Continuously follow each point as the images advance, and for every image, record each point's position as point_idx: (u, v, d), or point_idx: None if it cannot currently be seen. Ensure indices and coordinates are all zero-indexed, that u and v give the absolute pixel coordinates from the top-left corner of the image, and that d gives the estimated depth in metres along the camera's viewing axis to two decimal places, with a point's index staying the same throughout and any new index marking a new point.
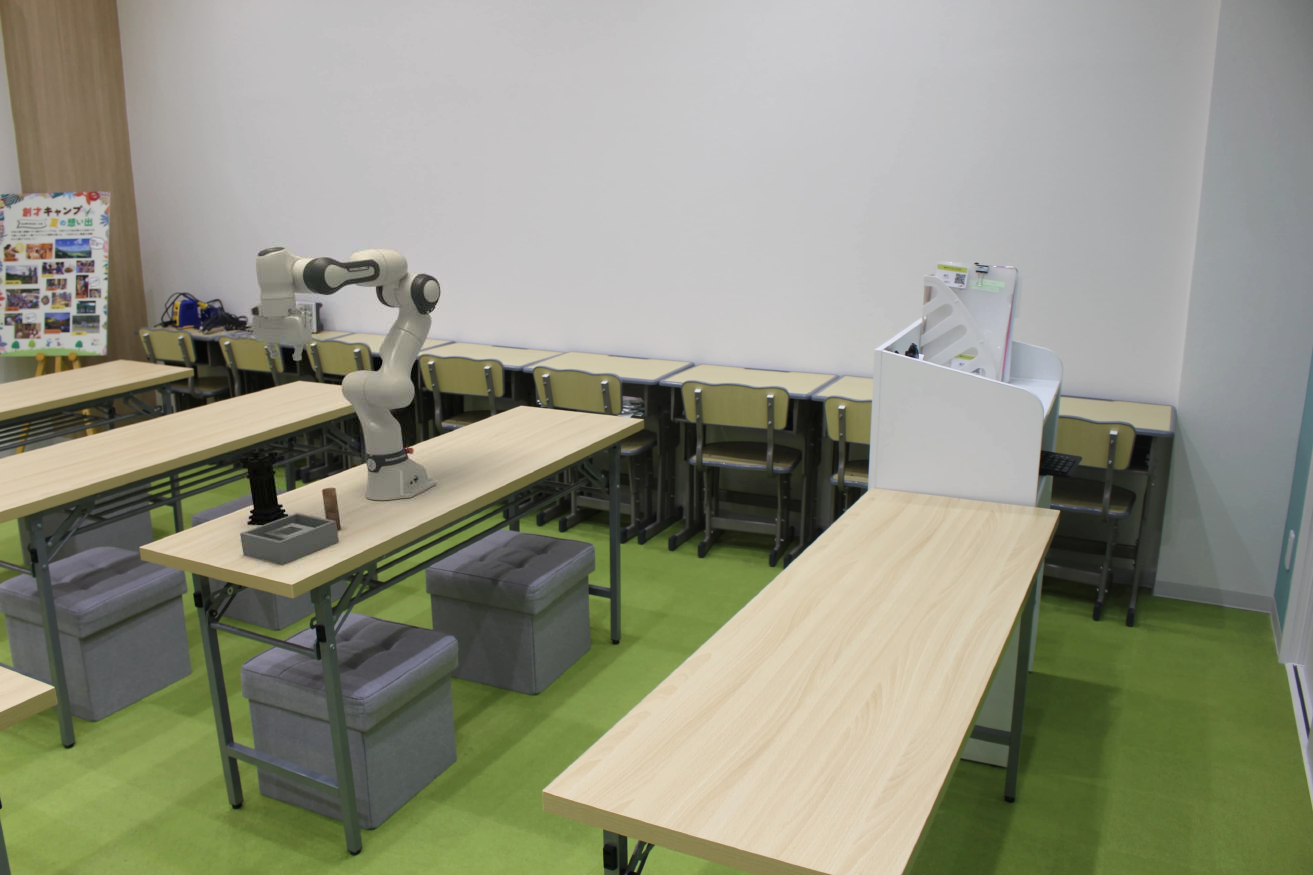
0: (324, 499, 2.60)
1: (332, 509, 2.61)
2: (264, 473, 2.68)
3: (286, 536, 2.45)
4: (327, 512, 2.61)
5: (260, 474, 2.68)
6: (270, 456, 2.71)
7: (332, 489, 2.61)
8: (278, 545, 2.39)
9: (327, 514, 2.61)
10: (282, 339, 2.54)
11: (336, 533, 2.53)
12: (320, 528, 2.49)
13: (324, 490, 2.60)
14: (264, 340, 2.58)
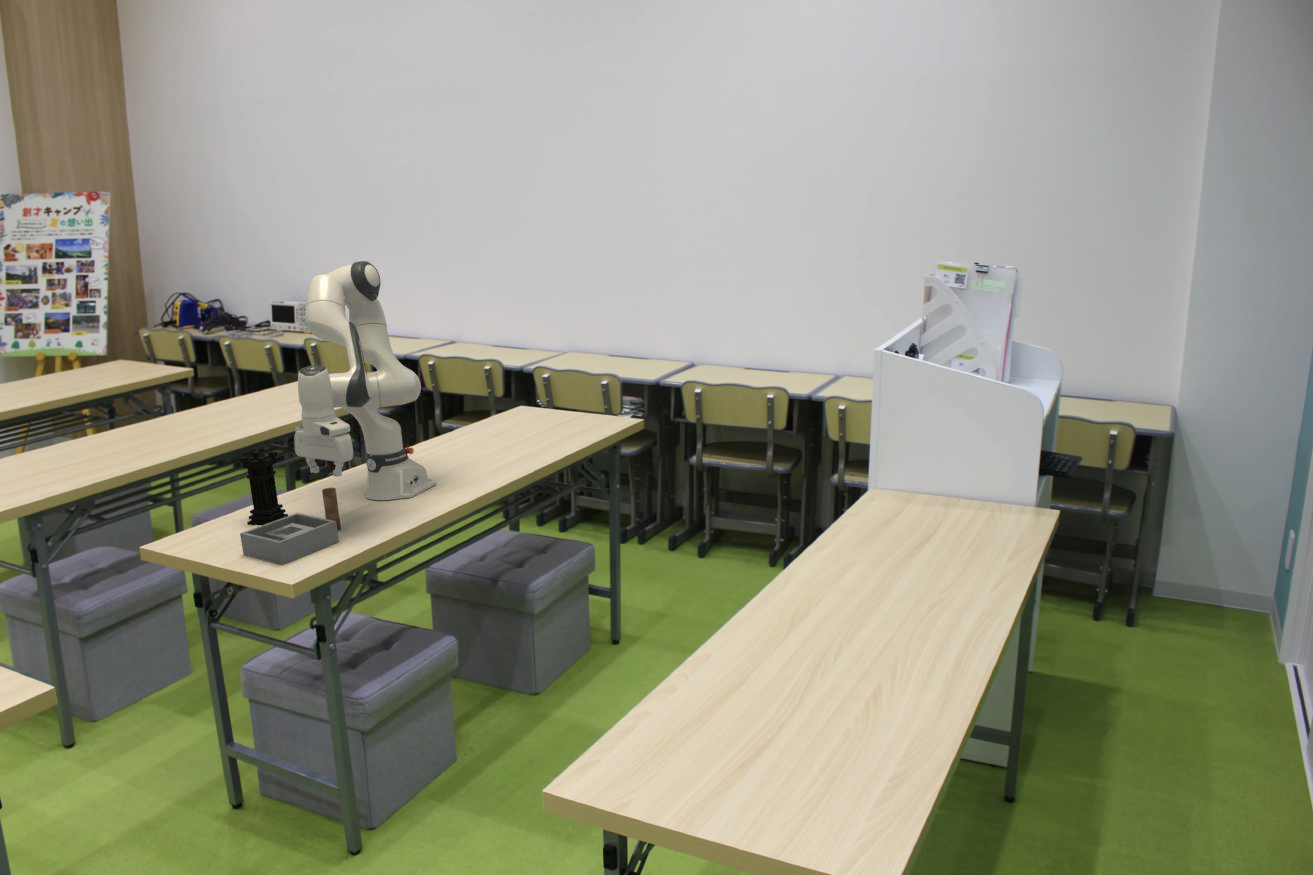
0: (324, 499, 2.60)
1: (332, 509, 2.61)
2: (264, 473, 2.68)
3: (286, 536, 2.45)
4: (327, 512, 2.61)
5: (260, 474, 2.68)
6: (270, 456, 2.71)
7: (332, 489, 2.61)
8: (278, 545, 2.39)
9: (327, 514, 2.61)
10: None
11: (336, 533, 2.53)
12: (320, 528, 2.49)
13: (324, 490, 2.60)
14: None
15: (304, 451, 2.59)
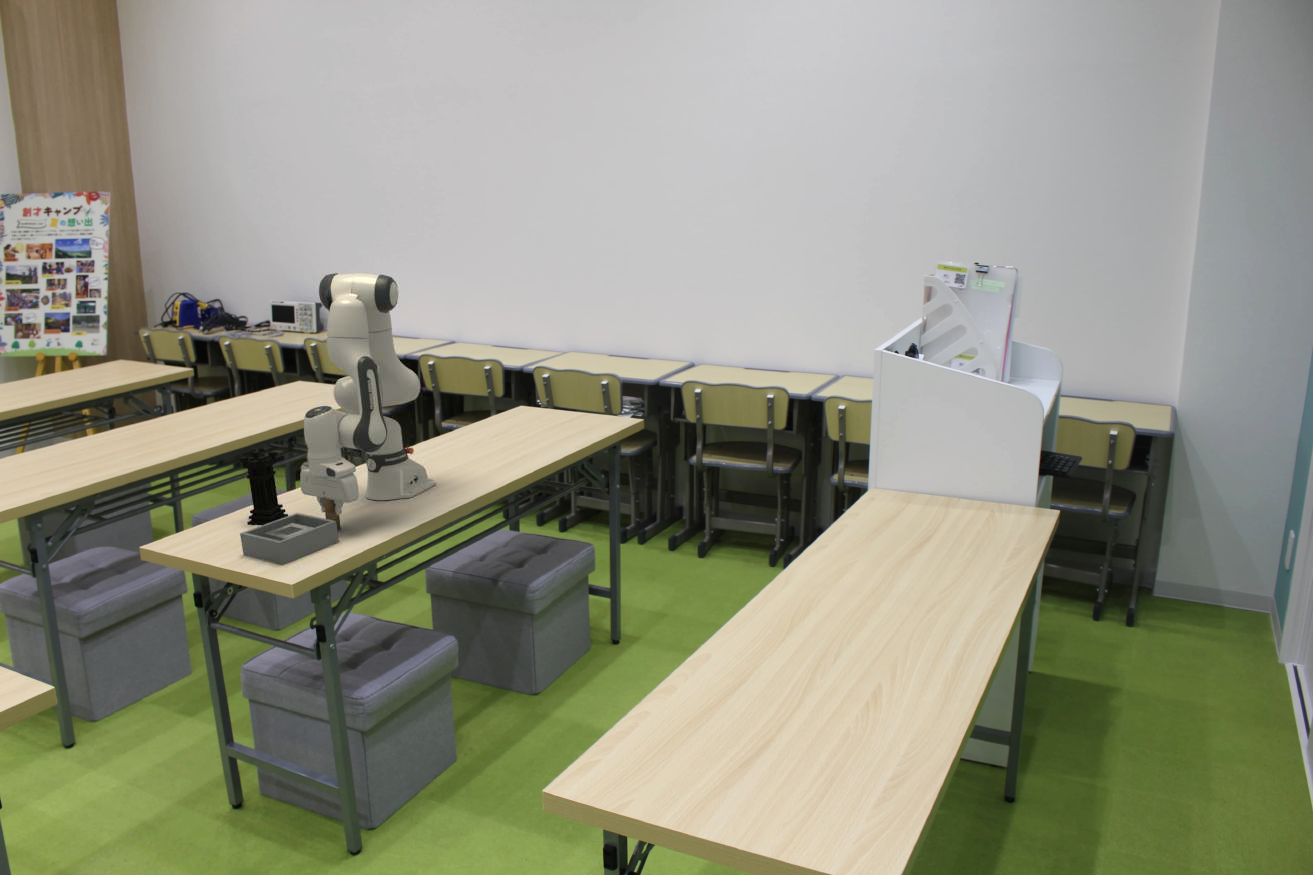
0: (324, 499, 2.60)
1: (332, 509, 2.61)
2: (264, 473, 2.68)
3: (286, 536, 2.45)
4: (327, 512, 2.61)
5: (260, 474, 2.68)
6: (270, 456, 2.71)
7: None
8: (278, 545, 2.39)
9: (327, 514, 2.61)
10: None
11: (336, 533, 2.53)
12: (320, 528, 2.49)
13: None
14: None
15: (310, 490, 2.62)
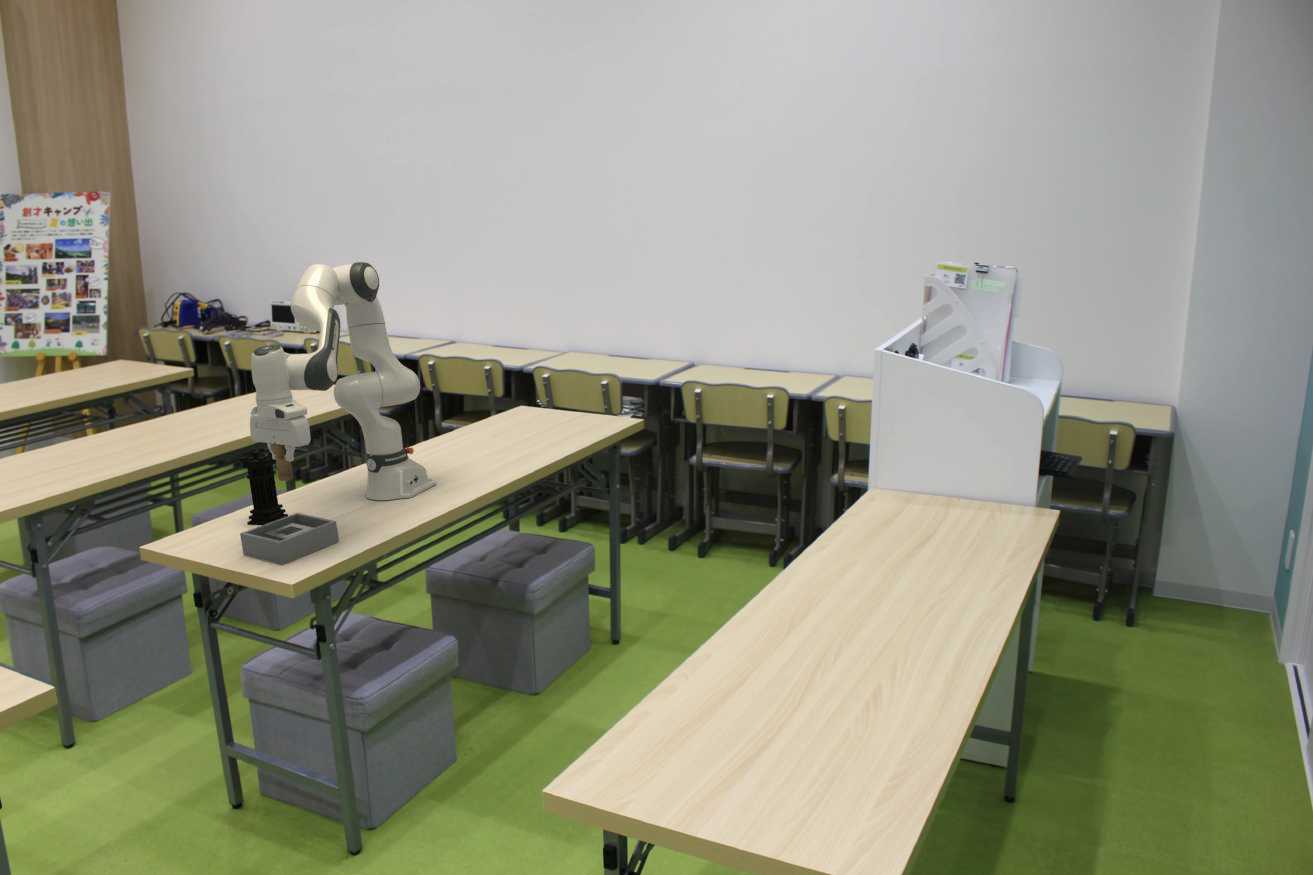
0: (274, 445, 2.44)
1: (283, 455, 2.45)
2: (264, 473, 2.68)
3: (286, 536, 2.45)
4: (278, 459, 2.45)
5: (260, 474, 2.68)
6: (270, 456, 2.71)
7: None
8: (278, 545, 2.39)
9: (278, 461, 2.45)
10: None
11: (336, 533, 2.53)
12: (320, 528, 2.49)
13: None
14: None
15: (260, 436, 2.46)
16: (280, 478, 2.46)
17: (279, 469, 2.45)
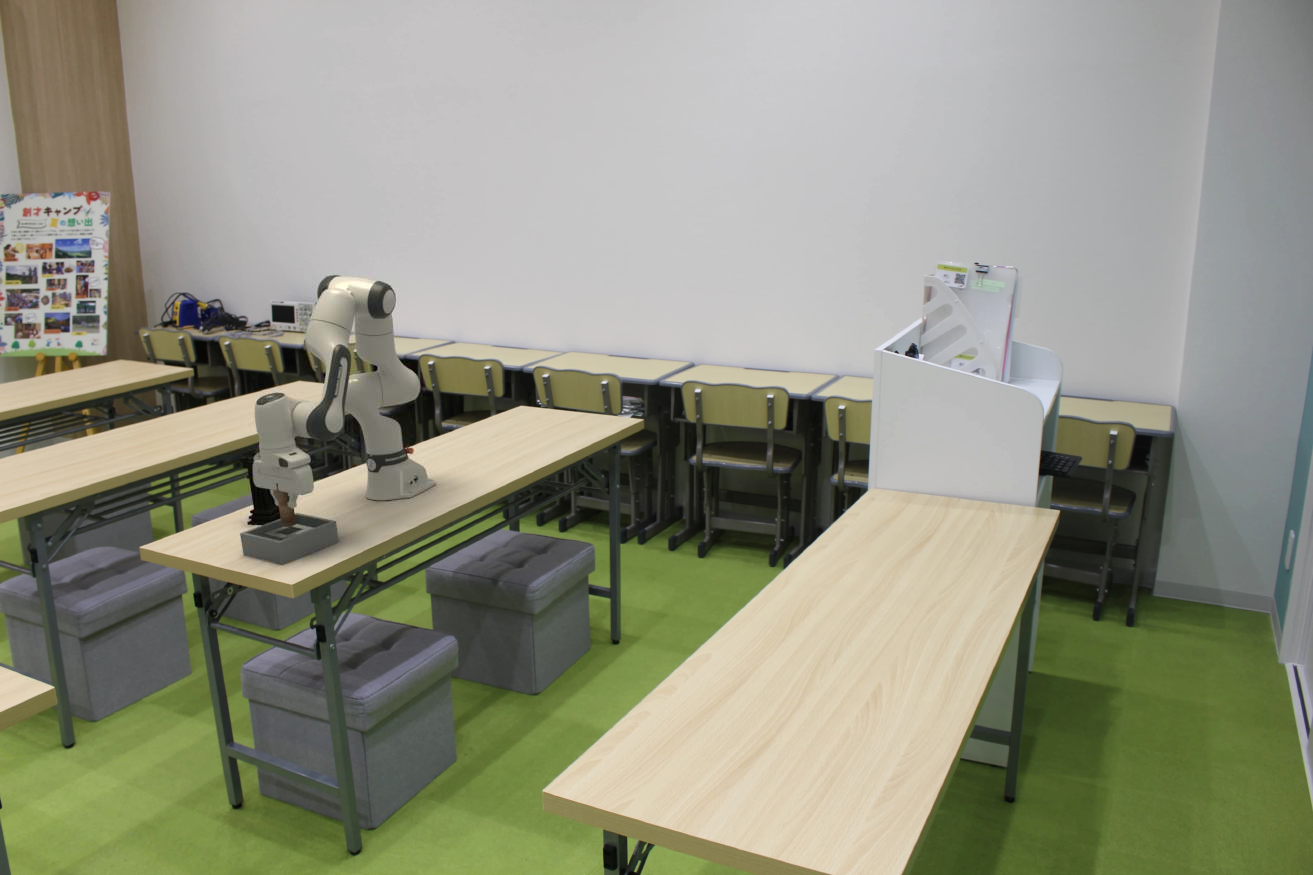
0: (277, 492, 2.45)
1: (286, 502, 2.46)
2: None
3: (286, 536, 2.45)
4: (281, 505, 2.46)
5: None
6: None
7: None
8: (278, 545, 2.39)
9: (281, 508, 2.46)
10: None
11: (336, 533, 2.53)
12: (320, 528, 2.49)
13: None
14: None
15: (263, 482, 2.48)
16: (283, 524, 2.48)
17: (282, 515, 2.47)
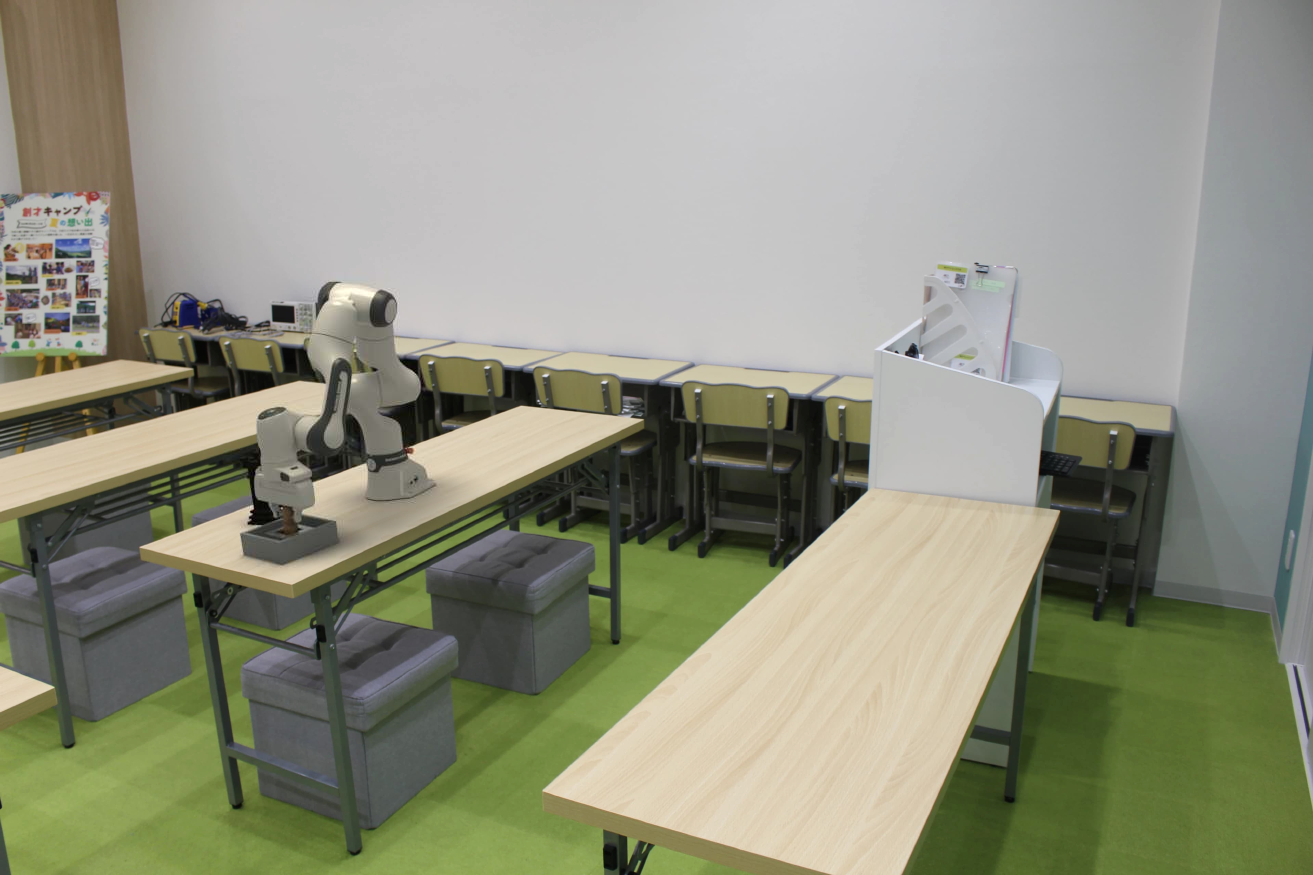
0: (283, 511, 2.47)
1: (291, 521, 2.48)
2: None
3: (286, 536, 2.45)
4: (285, 525, 2.48)
5: None
6: None
7: None
8: (278, 545, 2.39)
9: (285, 527, 2.48)
10: None
11: (336, 533, 2.53)
12: (320, 528, 2.49)
13: None
14: None
15: (264, 495, 2.49)
16: None
17: None
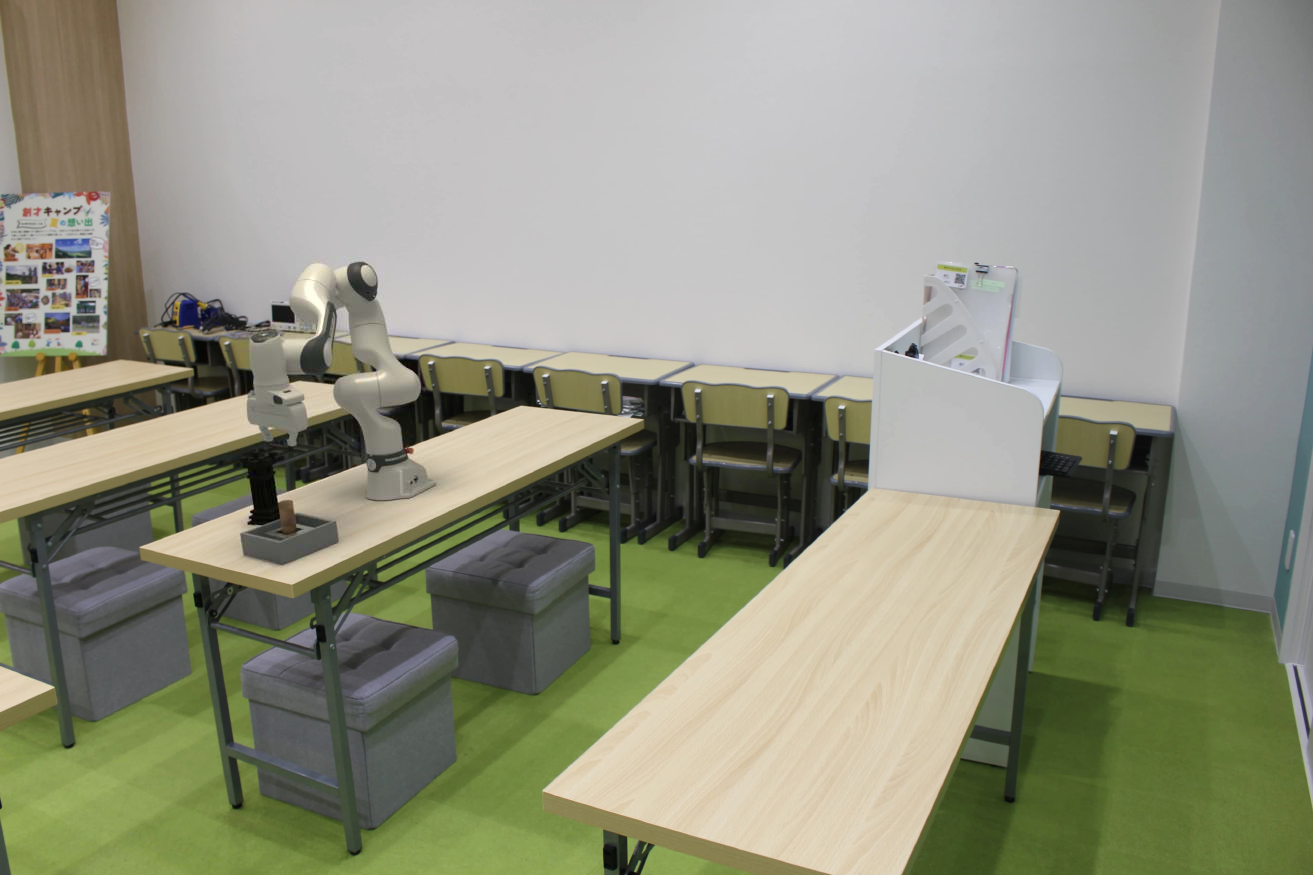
0: (280, 512, 2.47)
1: (289, 522, 2.48)
2: (264, 473, 2.68)
3: (286, 536, 2.45)
4: (283, 526, 2.48)
5: (260, 474, 2.68)
6: (270, 456, 2.71)
7: (289, 502, 2.48)
8: (278, 545, 2.39)
9: (284, 528, 2.48)
10: None
11: (336, 533, 2.53)
12: (320, 528, 2.49)
13: (280, 503, 2.47)
14: None
15: (257, 419, 2.52)
16: None
17: None
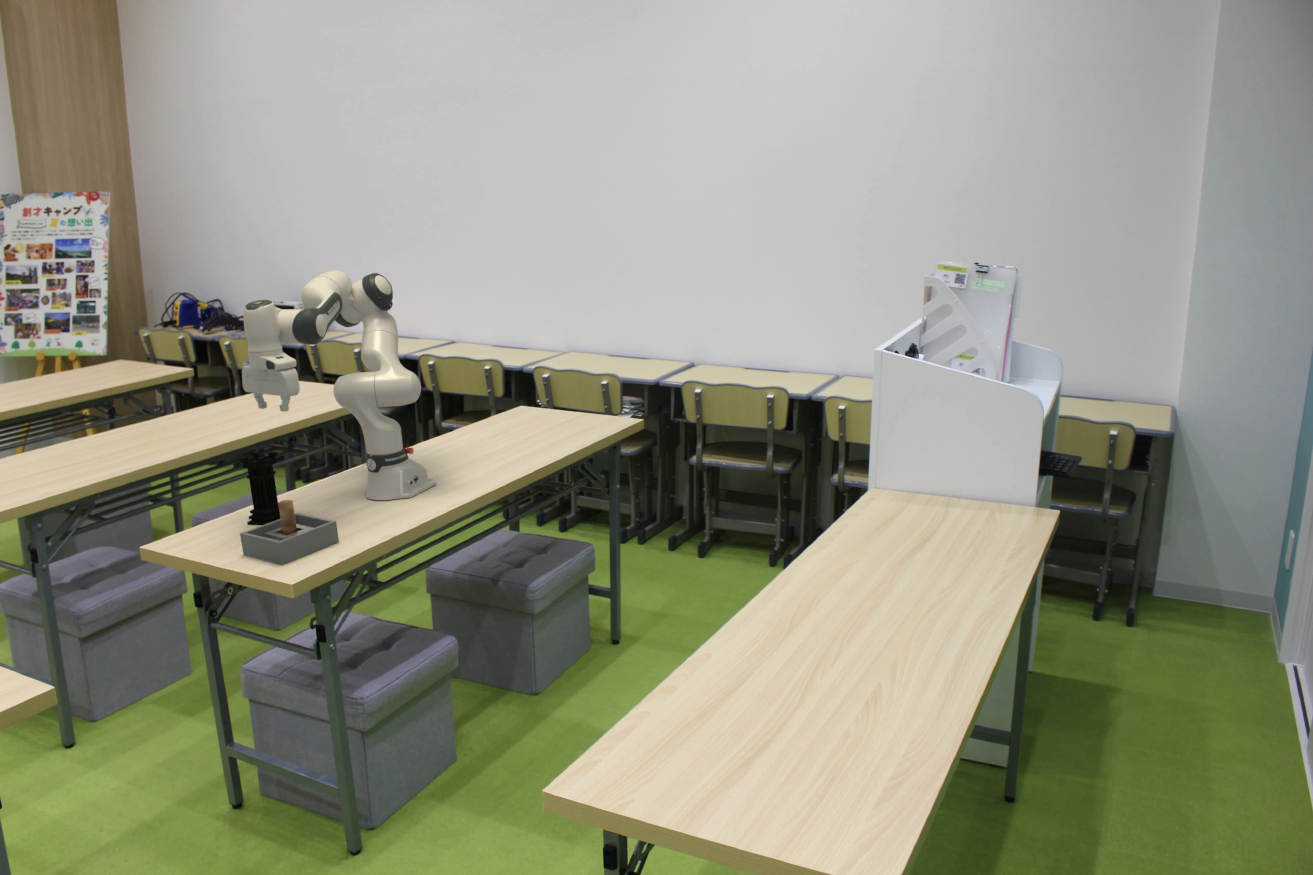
0: (280, 512, 2.47)
1: (289, 522, 2.48)
2: (264, 473, 2.68)
3: (286, 536, 2.45)
4: (284, 526, 2.48)
5: (260, 474, 2.68)
6: (270, 456, 2.71)
7: (289, 502, 2.48)
8: (278, 545, 2.39)
9: (284, 528, 2.48)
10: None
11: (336, 533, 2.53)
12: (320, 528, 2.49)
13: (280, 503, 2.47)
14: None
15: (252, 386, 2.60)
16: None
17: None
